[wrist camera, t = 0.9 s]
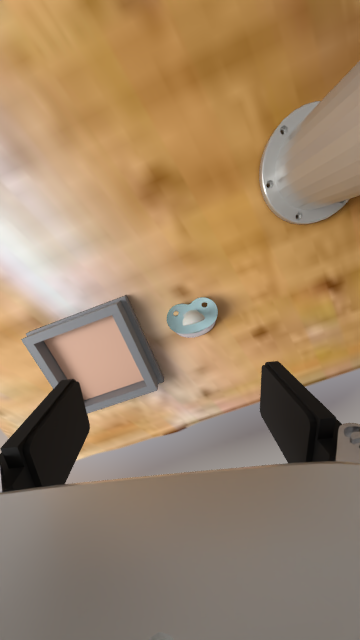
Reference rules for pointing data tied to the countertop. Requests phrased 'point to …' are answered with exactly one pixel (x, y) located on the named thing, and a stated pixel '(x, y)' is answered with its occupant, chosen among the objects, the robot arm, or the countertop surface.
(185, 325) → the pacifier
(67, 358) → the holder
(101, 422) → the countertop surface
